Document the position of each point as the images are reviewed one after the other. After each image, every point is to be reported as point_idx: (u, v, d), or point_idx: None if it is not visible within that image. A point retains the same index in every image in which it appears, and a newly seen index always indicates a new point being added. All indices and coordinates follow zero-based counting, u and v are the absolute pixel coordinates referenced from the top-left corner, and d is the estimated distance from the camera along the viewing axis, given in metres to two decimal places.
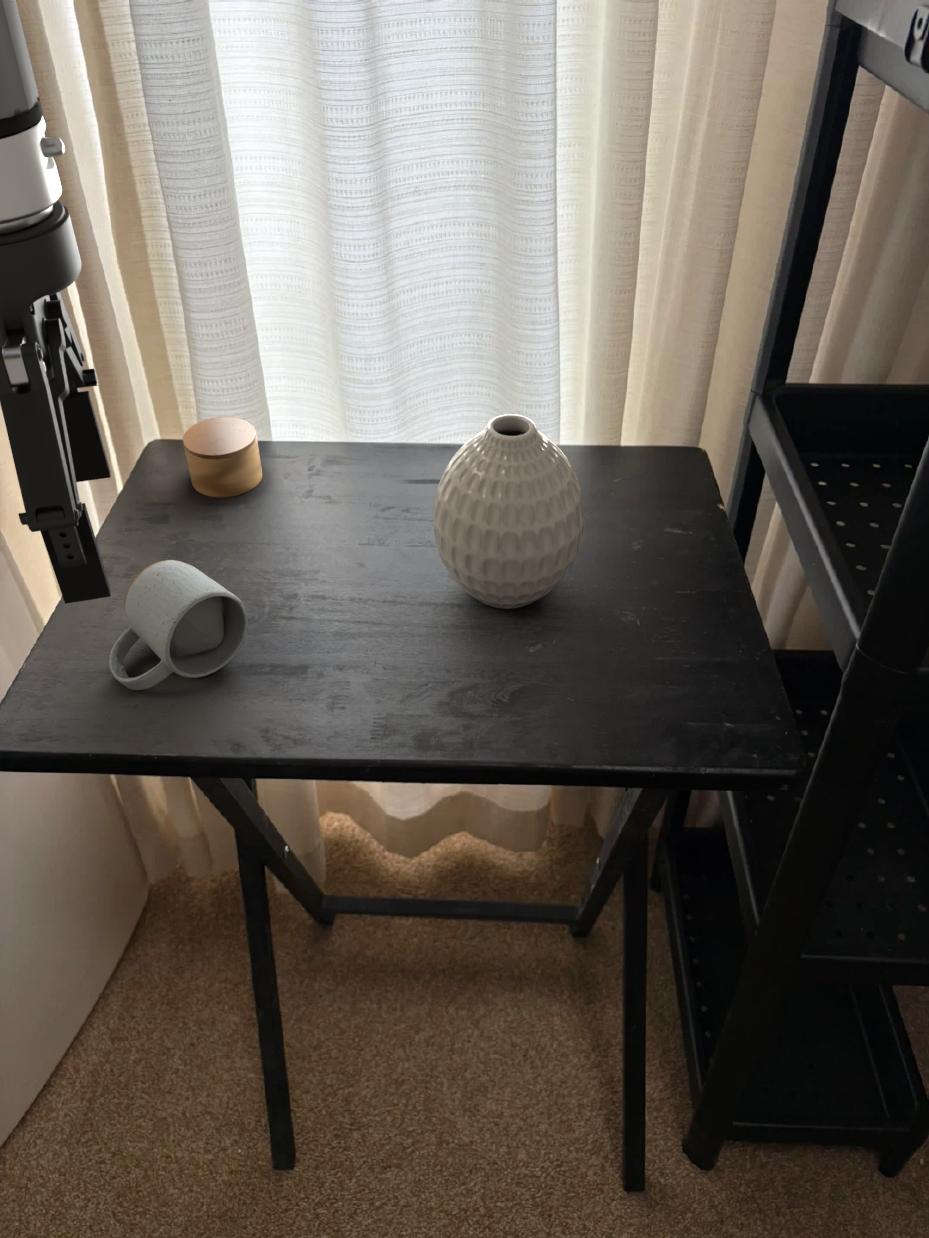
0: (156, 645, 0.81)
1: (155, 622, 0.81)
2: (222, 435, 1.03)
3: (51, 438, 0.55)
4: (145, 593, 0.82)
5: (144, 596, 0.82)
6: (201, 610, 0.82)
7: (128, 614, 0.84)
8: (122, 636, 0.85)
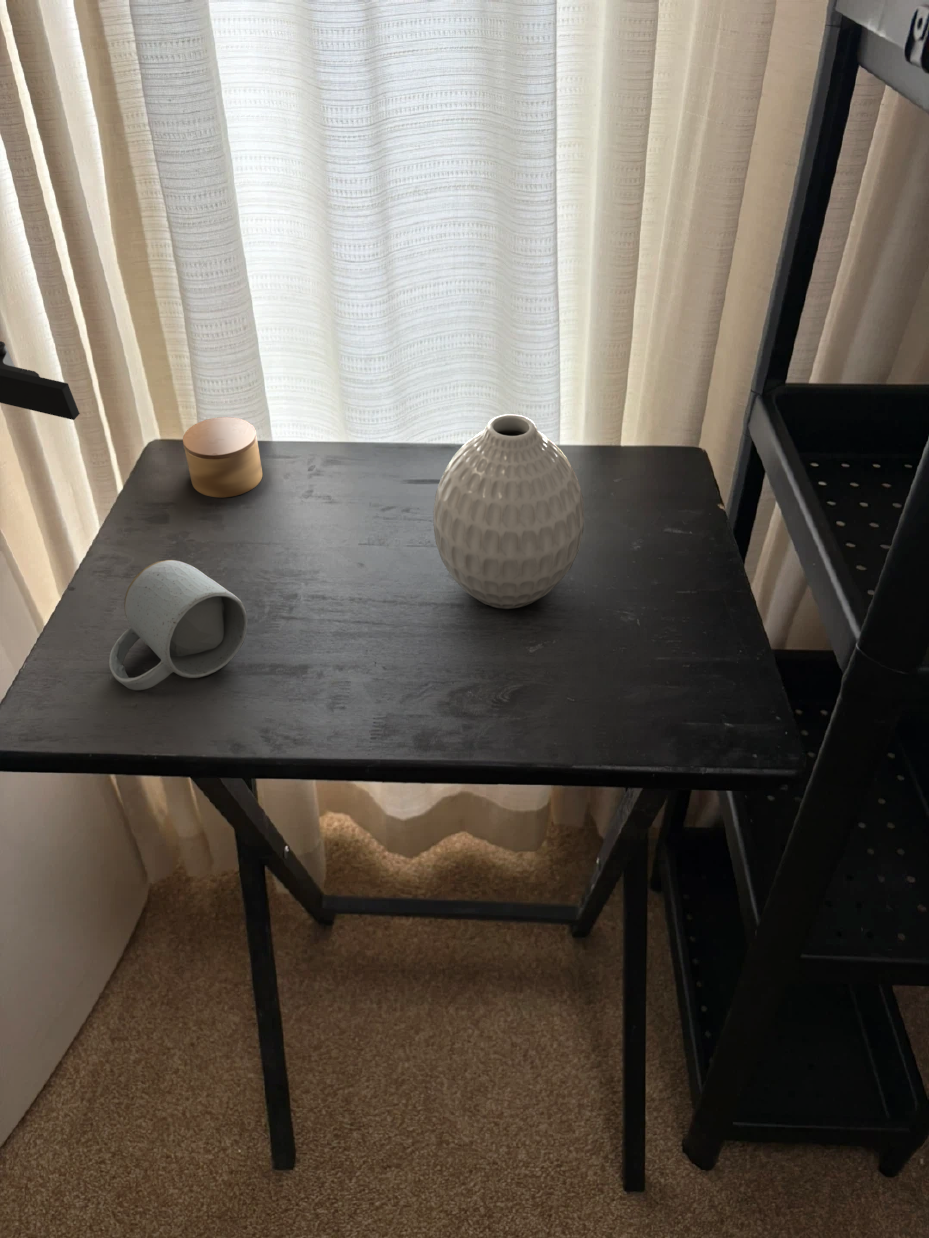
0: (156, 645, 0.81)
1: (155, 622, 0.81)
2: (222, 435, 1.03)
3: None
4: (145, 593, 0.82)
5: (144, 596, 0.82)
6: (201, 610, 0.82)
7: (128, 614, 0.84)
8: (122, 636, 0.85)
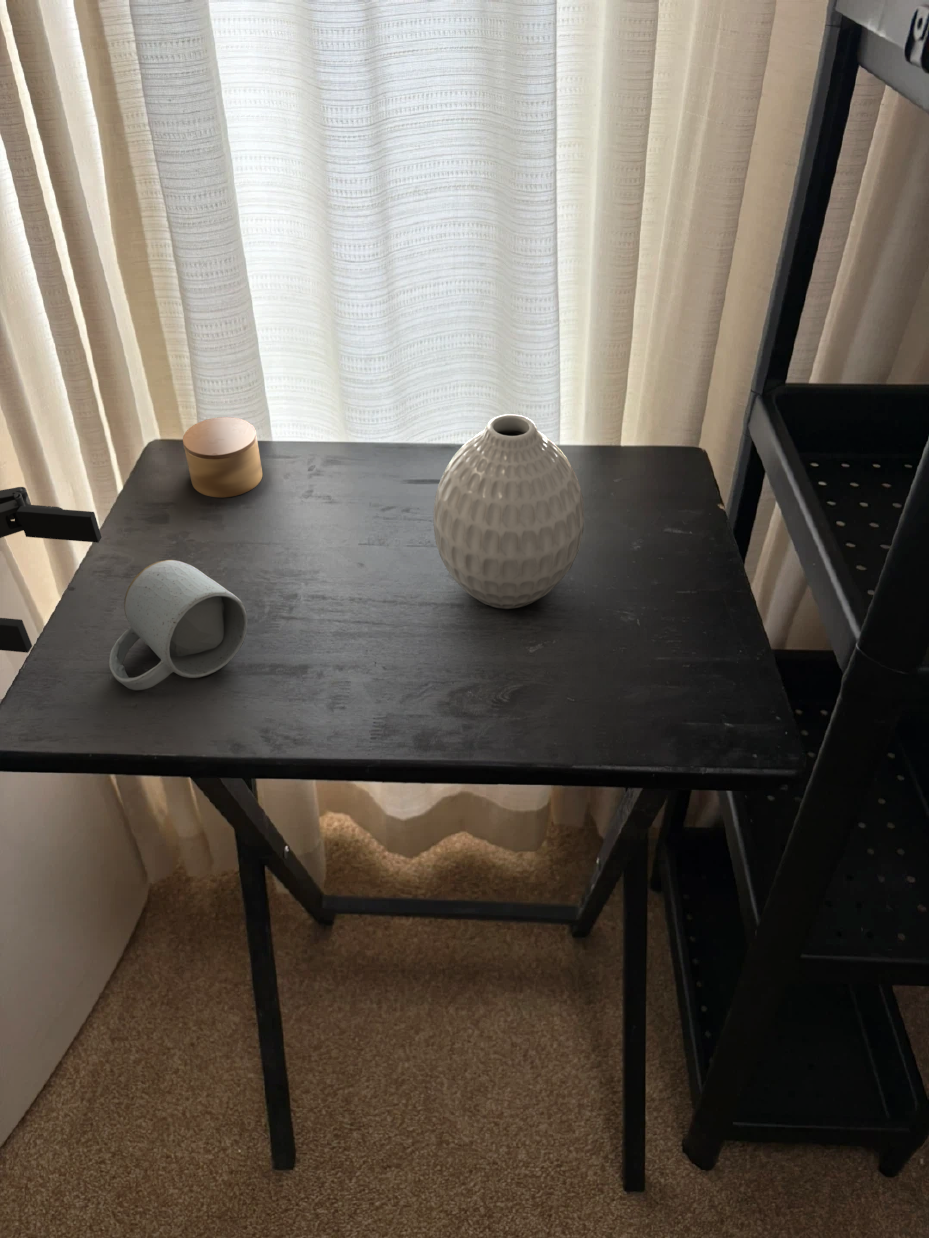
0: (156, 645, 0.81)
1: (155, 622, 0.81)
2: (222, 435, 1.03)
3: None
4: (145, 592, 0.82)
5: (144, 596, 0.82)
6: (201, 610, 0.82)
7: (128, 614, 0.84)
8: (122, 636, 0.85)
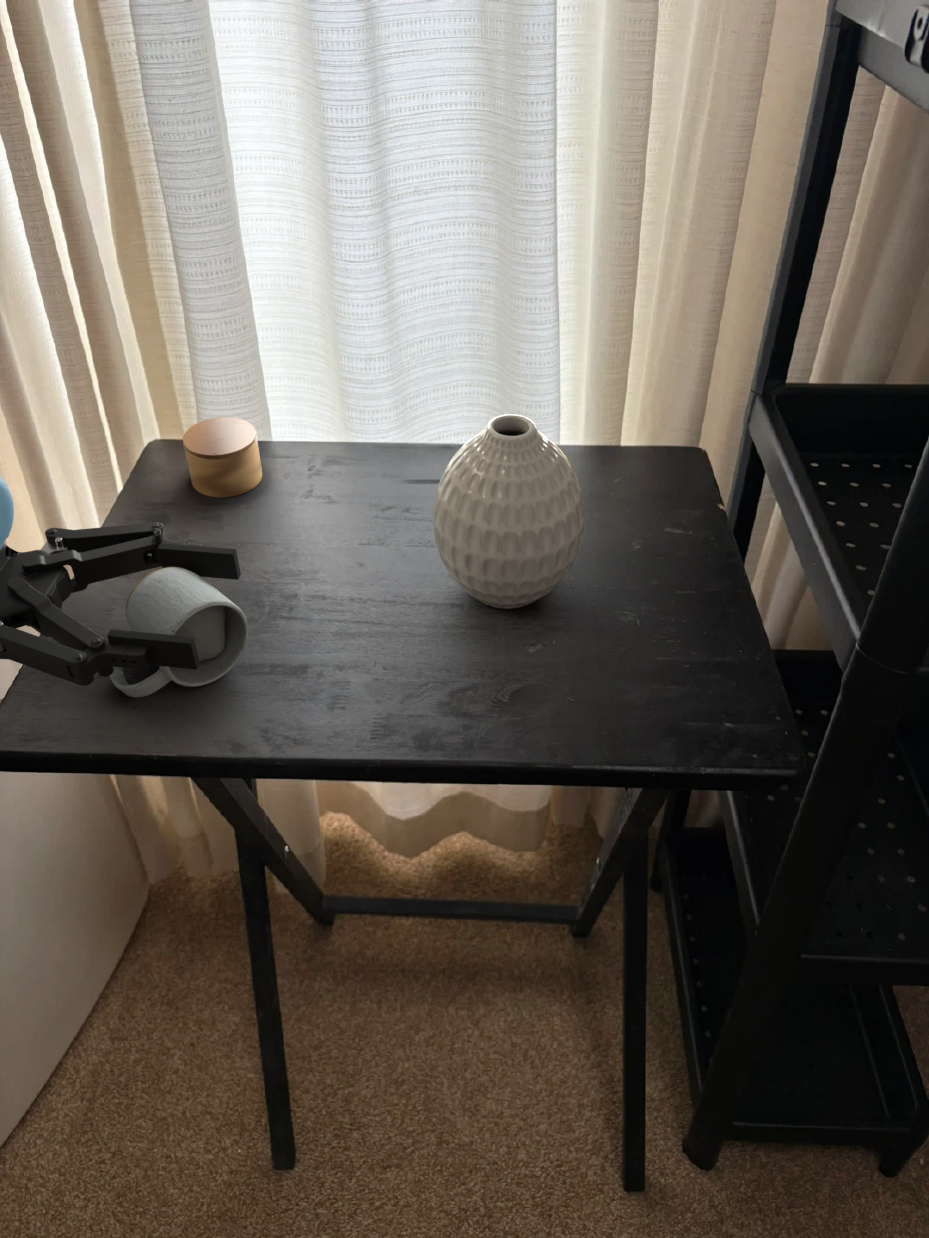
0: None
1: (154, 629, 0.80)
2: (222, 435, 1.03)
3: None
4: (145, 599, 0.82)
5: (145, 603, 0.82)
6: (202, 619, 0.82)
7: (129, 620, 0.83)
8: None
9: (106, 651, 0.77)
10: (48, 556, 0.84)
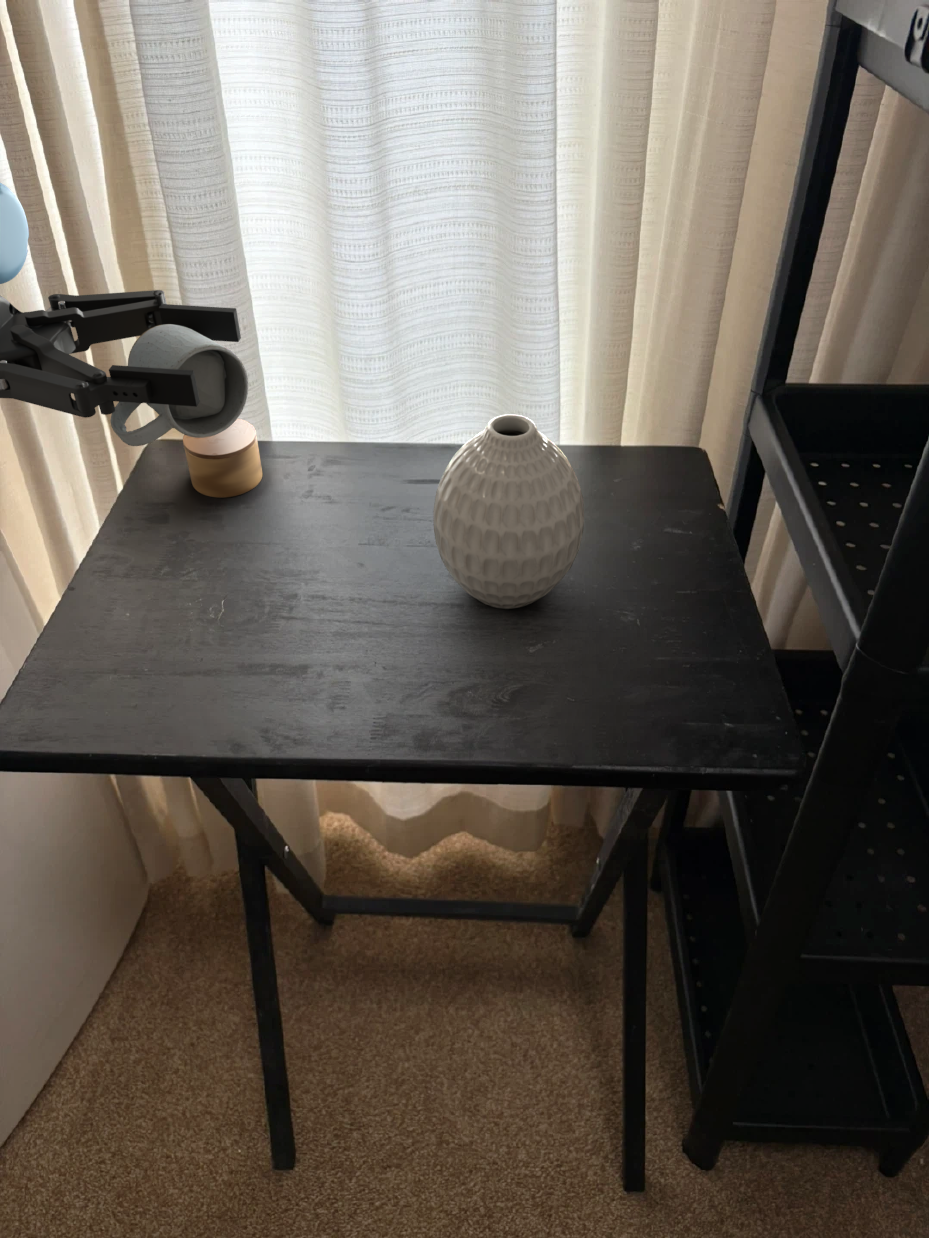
0: None
1: None
2: (222, 435, 1.03)
3: None
4: (147, 348, 0.83)
5: (146, 351, 0.83)
6: (202, 367, 0.83)
7: None
8: None
9: (108, 383, 0.78)
10: (51, 312, 0.85)
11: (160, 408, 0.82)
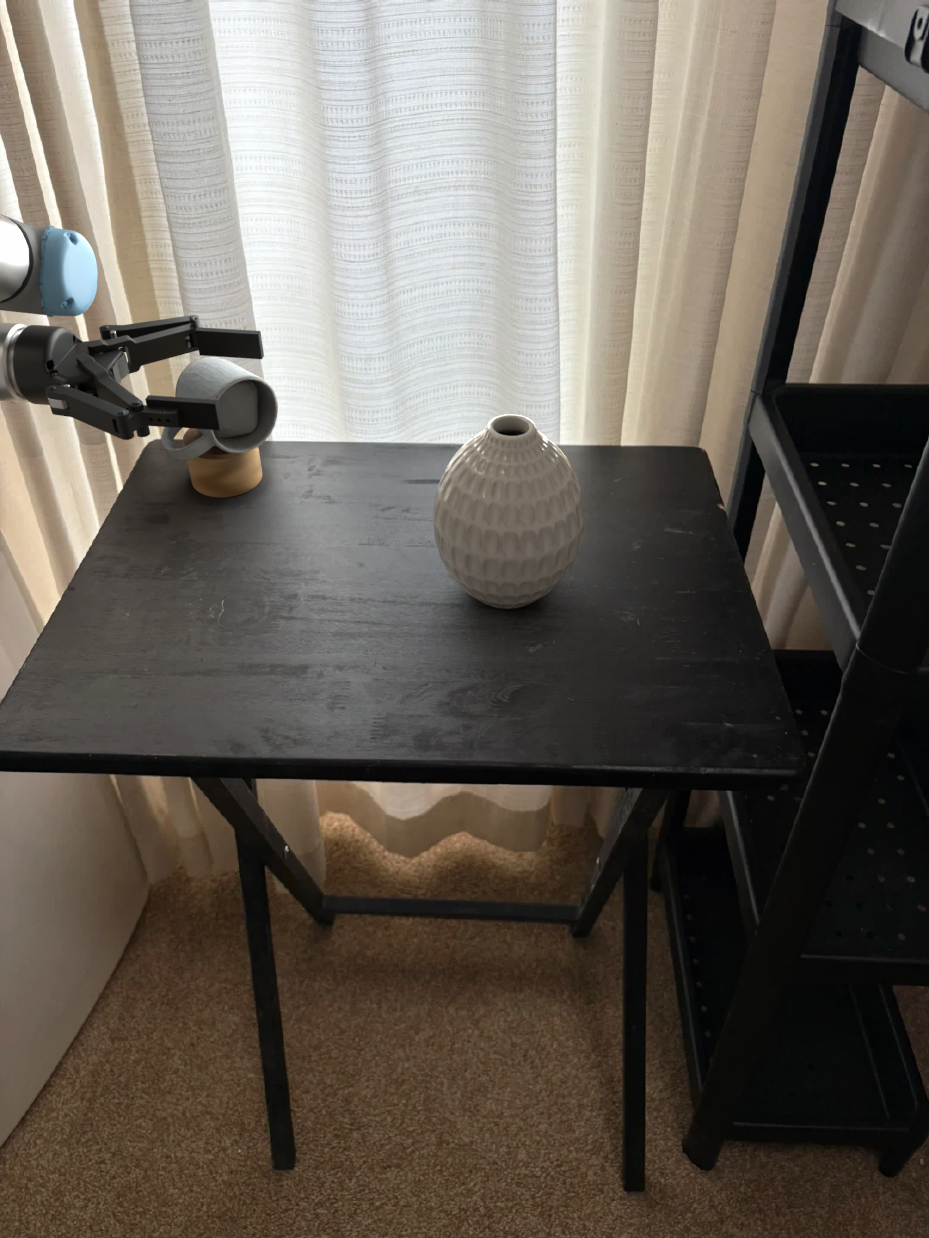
0: None
1: None
2: None
3: None
4: (193, 377, 0.98)
5: (192, 380, 0.98)
6: (239, 393, 0.98)
7: None
8: None
9: (145, 411, 0.92)
10: (107, 340, 1.00)
11: (204, 429, 0.97)
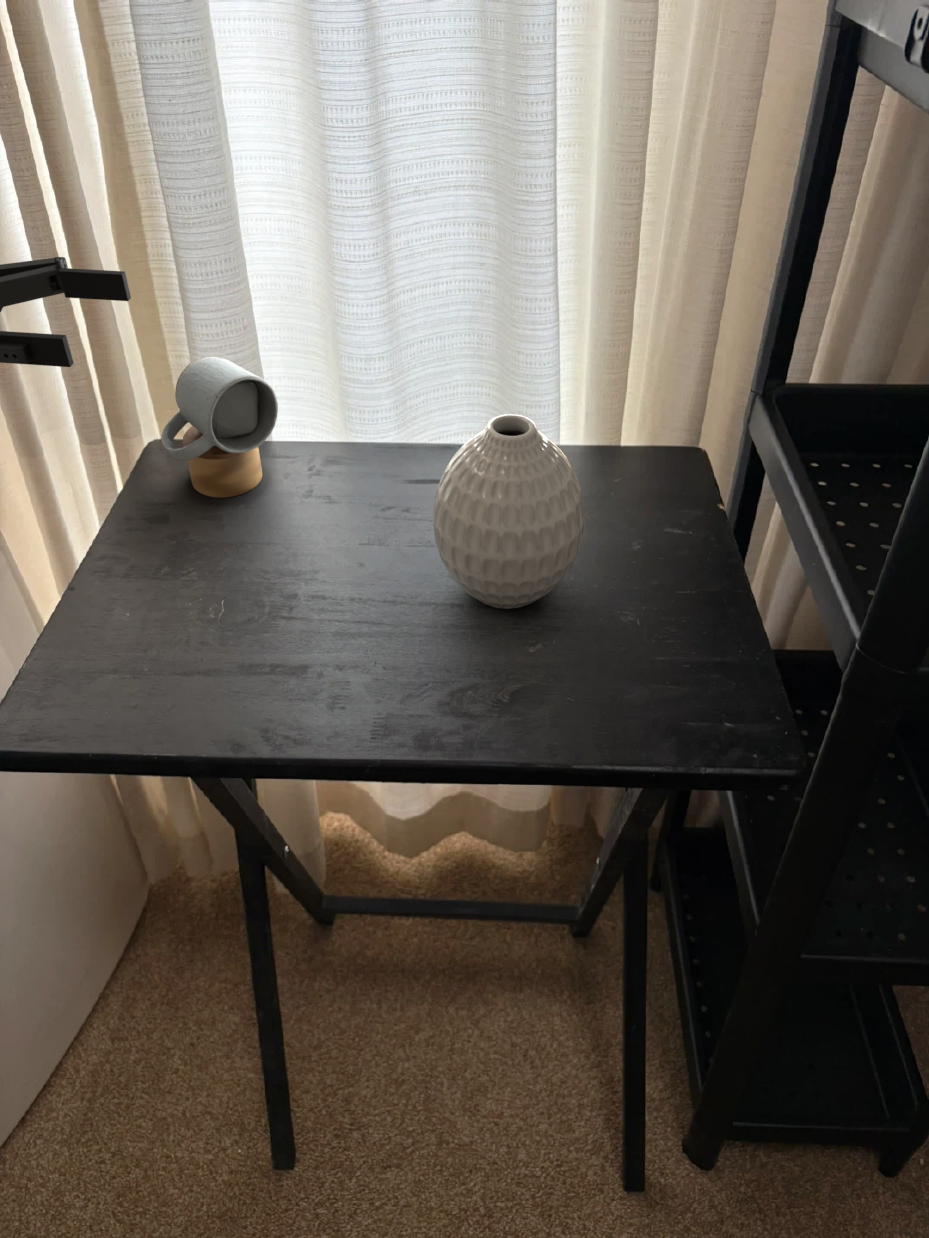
0: (201, 419, 0.97)
1: (201, 399, 0.96)
2: None
3: None
4: (193, 377, 0.98)
5: (192, 380, 0.98)
6: (239, 393, 0.98)
7: (178, 398, 1.00)
8: (172, 419, 1.01)
9: None
10: None
11: (204, 429, 0.97)
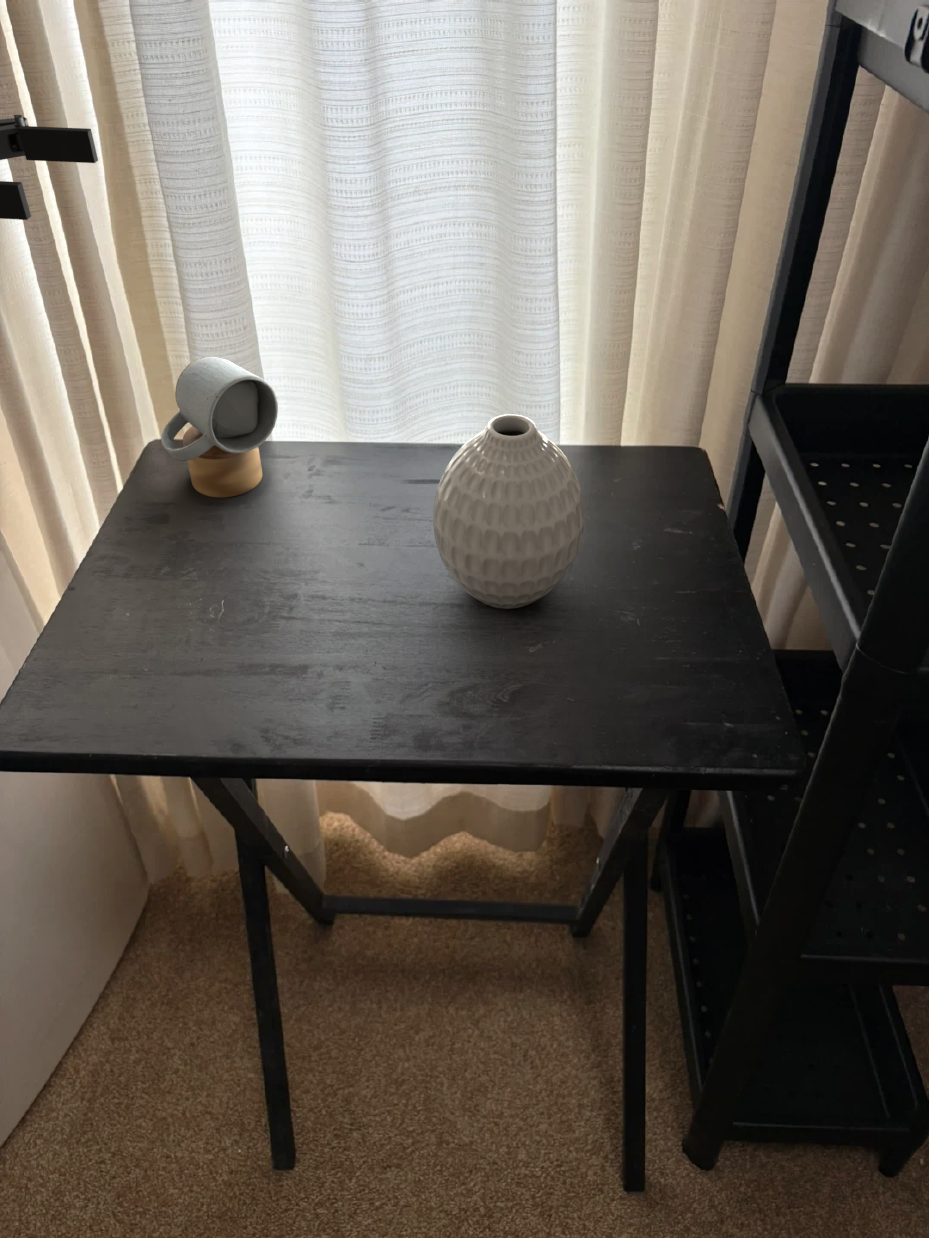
0: (201, 419, 0.97)
1: (201, 399, 0.96)
2: None
3: None
4: (193, 377, 0.98)
5: (192, 380, 0.98)
6: (239, 393, 0.98)
7: (178, 398, 1.00)
8: (172, 419, 1.01)
9: None
10: None
11: (204, 429, 0.97)
